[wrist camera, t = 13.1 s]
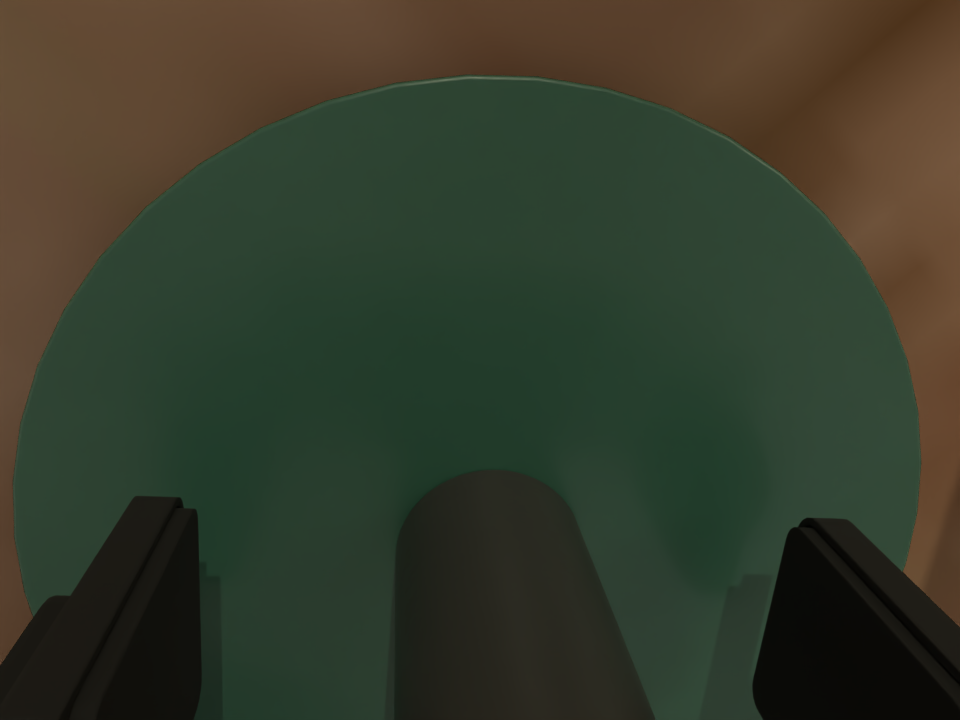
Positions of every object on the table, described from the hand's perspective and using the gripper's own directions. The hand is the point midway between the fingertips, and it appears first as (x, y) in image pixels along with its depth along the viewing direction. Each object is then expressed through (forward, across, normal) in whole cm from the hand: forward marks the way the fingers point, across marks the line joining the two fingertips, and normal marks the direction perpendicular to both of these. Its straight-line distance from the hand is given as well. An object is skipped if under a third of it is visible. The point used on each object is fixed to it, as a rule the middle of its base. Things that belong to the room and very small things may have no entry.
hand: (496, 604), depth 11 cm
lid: (+2, 0, 0) cm, 2 cm away
